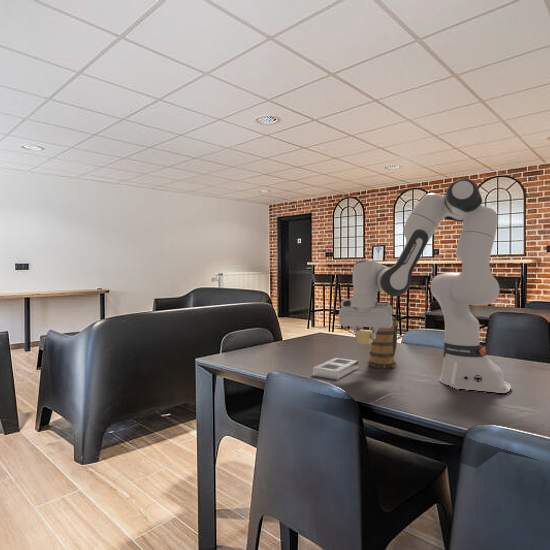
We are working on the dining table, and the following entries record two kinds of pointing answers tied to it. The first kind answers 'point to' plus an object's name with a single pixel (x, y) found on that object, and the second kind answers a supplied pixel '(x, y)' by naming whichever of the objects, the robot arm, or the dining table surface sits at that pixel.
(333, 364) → the white flat tray
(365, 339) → the yellow cube
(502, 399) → the dining table surface
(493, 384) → the robot arm
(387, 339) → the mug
